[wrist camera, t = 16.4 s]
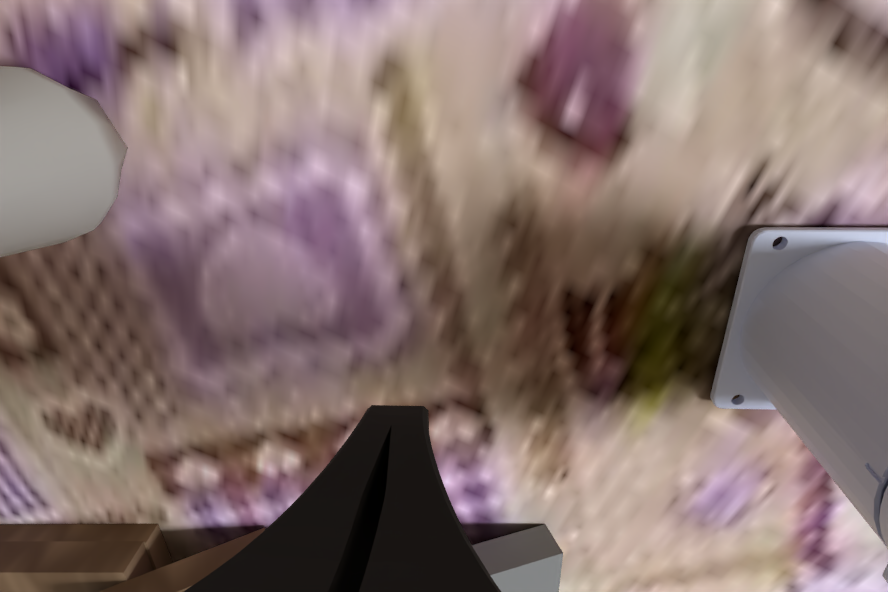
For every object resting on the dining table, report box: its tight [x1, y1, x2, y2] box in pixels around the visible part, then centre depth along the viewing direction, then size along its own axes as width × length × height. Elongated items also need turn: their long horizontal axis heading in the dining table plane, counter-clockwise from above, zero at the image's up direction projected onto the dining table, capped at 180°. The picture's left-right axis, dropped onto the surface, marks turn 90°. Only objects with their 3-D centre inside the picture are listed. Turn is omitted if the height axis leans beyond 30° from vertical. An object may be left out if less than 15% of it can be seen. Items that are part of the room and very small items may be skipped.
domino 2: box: [0, 541, 154, 592], centre depth 28 cm, size 2×5×9 cm
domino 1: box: [0, 524, 173, 570], centre depth 30 cm, size 2×5×9 cm
